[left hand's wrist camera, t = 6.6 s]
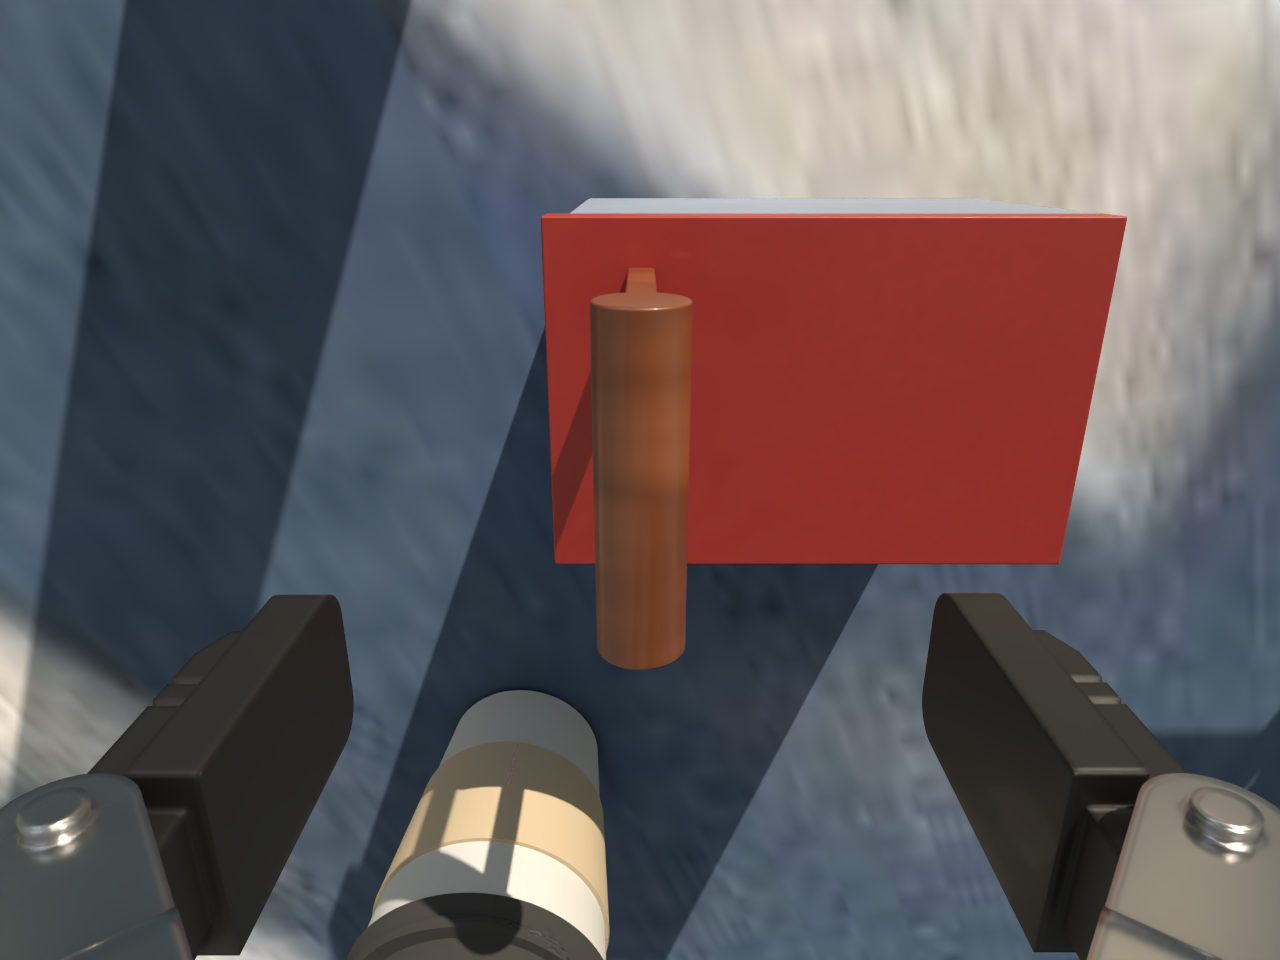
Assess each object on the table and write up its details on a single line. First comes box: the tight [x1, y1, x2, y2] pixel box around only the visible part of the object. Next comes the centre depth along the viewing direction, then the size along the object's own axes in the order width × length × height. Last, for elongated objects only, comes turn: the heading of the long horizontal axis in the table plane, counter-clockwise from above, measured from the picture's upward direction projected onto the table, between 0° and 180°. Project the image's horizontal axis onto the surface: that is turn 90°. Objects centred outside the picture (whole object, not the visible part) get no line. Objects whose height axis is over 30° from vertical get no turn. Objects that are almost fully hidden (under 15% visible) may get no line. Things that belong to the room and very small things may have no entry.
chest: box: [571, 198, 1098, 214], centre depth 29 cm, size 14×10×9 cm
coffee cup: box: [346, 690, 609, 960], centre depth 33 cm, size 9×9×15 cm
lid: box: [541, 213, 1127, 670], centre depth 20 cm, size 15×10×8 cm, turn 90°
